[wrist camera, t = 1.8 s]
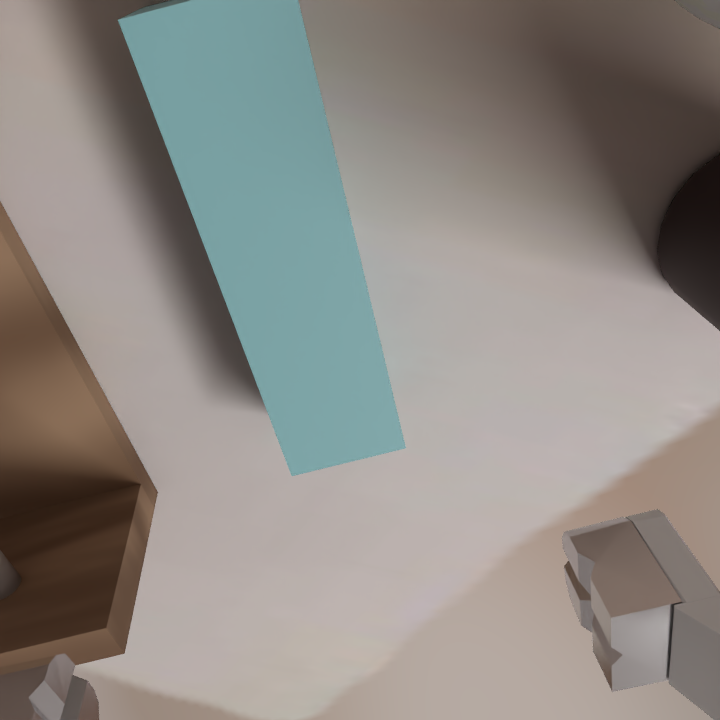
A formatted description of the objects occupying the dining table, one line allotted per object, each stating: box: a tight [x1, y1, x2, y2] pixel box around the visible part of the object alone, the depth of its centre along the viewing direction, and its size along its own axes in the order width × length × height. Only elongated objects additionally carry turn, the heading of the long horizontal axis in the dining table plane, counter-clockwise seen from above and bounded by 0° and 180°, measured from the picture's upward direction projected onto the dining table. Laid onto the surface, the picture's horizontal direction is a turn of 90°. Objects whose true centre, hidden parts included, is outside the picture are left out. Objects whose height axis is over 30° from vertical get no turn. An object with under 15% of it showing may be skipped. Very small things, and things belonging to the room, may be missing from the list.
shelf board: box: [118, 0, 406, 476], centre depth 22 cm, size 16×4×4 cm, turn 13°
